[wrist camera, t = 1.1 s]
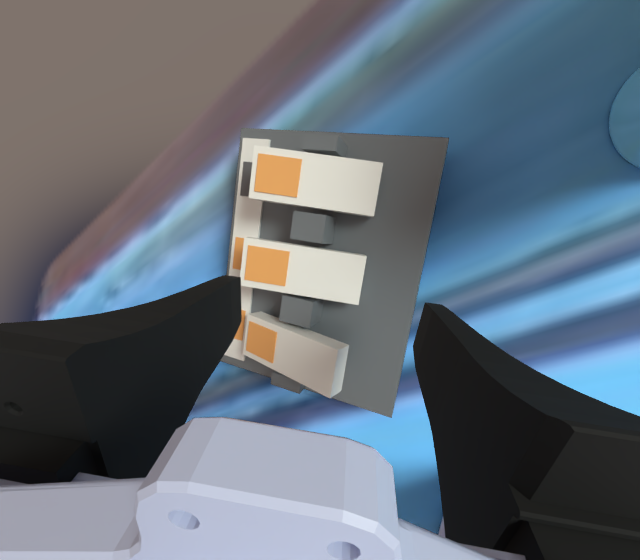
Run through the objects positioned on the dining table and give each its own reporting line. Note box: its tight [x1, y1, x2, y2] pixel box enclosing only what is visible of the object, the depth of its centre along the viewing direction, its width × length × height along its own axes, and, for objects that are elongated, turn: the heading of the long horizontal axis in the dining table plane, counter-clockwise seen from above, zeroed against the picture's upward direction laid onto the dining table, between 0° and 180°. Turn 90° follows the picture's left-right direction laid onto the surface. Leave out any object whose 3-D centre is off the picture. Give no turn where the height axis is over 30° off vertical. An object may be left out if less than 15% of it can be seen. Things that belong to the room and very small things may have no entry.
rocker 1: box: [249, 145, 383, 217], centre depth 17 cm, size 3×7×1 cm, turn 81°
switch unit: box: [220, 128, 449, 418], centre depth 20 cm, size 16×13×4 cm
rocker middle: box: [240, 237, 367, 305], centre depth 18 cm, size 3×7×1 cm, turn 81°
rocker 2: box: [243, 311, 349, 398], centre depth 19 cm, size 3×7×1 cm, turn 81°
